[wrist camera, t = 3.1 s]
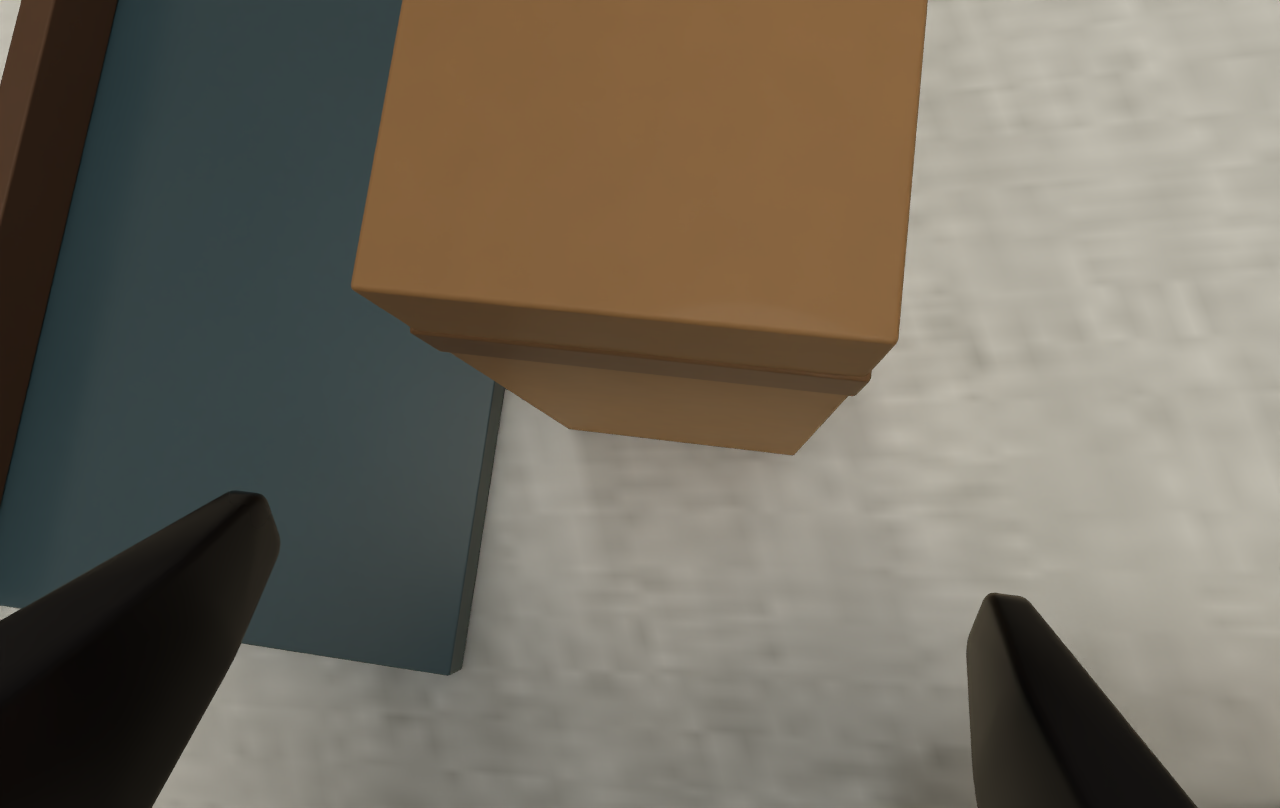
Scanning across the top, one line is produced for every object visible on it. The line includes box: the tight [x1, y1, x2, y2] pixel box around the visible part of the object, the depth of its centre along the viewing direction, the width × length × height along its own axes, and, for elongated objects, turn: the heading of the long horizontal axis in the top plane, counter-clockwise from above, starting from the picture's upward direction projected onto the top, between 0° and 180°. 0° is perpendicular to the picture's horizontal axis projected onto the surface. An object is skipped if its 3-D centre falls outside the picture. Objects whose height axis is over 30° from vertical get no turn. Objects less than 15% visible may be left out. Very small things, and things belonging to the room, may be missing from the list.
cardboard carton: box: [351, 0, 928, 455], centre depth 16 cm, size 5×6×13 cm
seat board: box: [0, 0, 505, 676], centre depth 22 cm, size 20×14×3 cm
